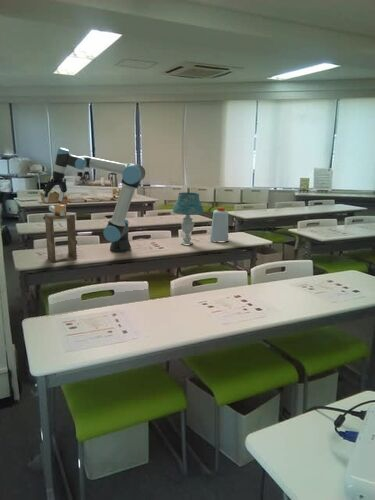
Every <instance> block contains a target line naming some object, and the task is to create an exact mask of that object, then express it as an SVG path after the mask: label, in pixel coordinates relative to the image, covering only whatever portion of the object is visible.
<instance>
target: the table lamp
mask: <svg viewBox="0 0 375 500" xmlns="http://www.w3.org/2000/svg"><path fill="white" fill-rule="evenodd" d="M177 195H178V196H177V199H176V202H175V204H174V205H173V208H172V212H173V213H174V214H178V215H185V217H183V218H182V220H183V221H180V226H181V230H182V232H183V233H184V236H183V237H182V241H181V242H180V244H181V243H182V244H192V243H193V241H192V237H191V236H190V233H192V232H193V230H194V226H195V222H194V221H193V218H192V217H191V216H196V215H203V214H204V207H203V205H202V202H201V200H200V193H196V192H179V193H178V194H177ZM182 244H181V245H182ZM192 245H193V244H192Z"/></svg>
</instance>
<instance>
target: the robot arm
mask: <svg viewBox="0 0 375 500" xmlns="http://www.w3.org/2000/svg"><path fill="white" fill-rule="evenodd" d="M55 157H56V158H55V162H54V167H53V172H52V177H49V179H48V182H46V185H45V186H44V188H43V190H42V191H43V192H44V200H43V201H44V202H46V203H48V202H49V199H50V195H51V193H50V192H51V191H52V189H53V188H54V187H56V186H58V187H59V188H60V191H59V195H58V198H57V201H59V202H63V197H64V195H65V193H66V192H67V190H68V188H67V179H66V178H65V175H66V172H67V167H68V166H69V167H72V168H75V169H77V170H81V171H83V170H85V168H87V169H93V170H97V171H101V172H108V173H111V174H116V175H121V184H122V185H121V189H120V192H119V195H118V199H117V202H116V204H115V208H114V211H113V214H112V217H111V218H109V219H108V222H107V226H105V227H104V229H103V232H102V233H103V236H104V238H105V240H106V241H108V242H110V247H109V251H111V252H114V253H127V251H128V252H131V250H132V245H131V243H130V241H129V240H130V239H129V224H130V223H129V220H128V219H126V218H127V215H128V212H129V209H130V205H131V203H132V200H133V197H134V193H135V190H136V189H139V186H140V183H141V182H142V180H144V178H145V176H146V169H145V168H144V167H143V165H141V164H139V163H138V164H137V163H130V162H129V163H121V162H117V161H112V160H106V159H102V158H97V157H92V156H91V157H90V156H88V155H80V156H77V155H74V154H72V153H71V151H70V150H69V149H67V148H65V147H58V149H57V153H56V156H55Z"/></svg>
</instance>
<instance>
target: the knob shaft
mask: <svg viewBox="0 0 375 500" xmlns="http://www.w3.org/2000/svg"><path fill="white" fill-rule="evenodd" d="M48 210H49V211H50V212H51V213H55V215H56V216H65V215H66V212H67V205H66V204H55V205H48Z"/></svg>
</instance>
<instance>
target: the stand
mask: <svg viewBox="0 0 375 500" xmlns="http://www.w3.org/2000/svg"><path fill="white" fill-rule="evenodd" d="M65 219H66V231H67V233H66V234H67V250H68V251H67V252H68V253H62V254H61V253H60V254H56V242H55V229H54V226H55V225H54V221H55V220H65ZM44 223H45V226H44V227H45V238H46V248H47V249H46V252H47V253H46V254H47V259H48V260H49V261H50V262H51V263H58V262H59V263H60V262H64V261H65V262H66V261H70V260H77V259H78V256H77V255H78V254H77V235H76V234H77V233H76V215H75V214H74V213H72V212H69V211H68V212H67V211H66V215H65V216H56V215H55V213H53V212H51V213H44Z"/></svg>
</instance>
